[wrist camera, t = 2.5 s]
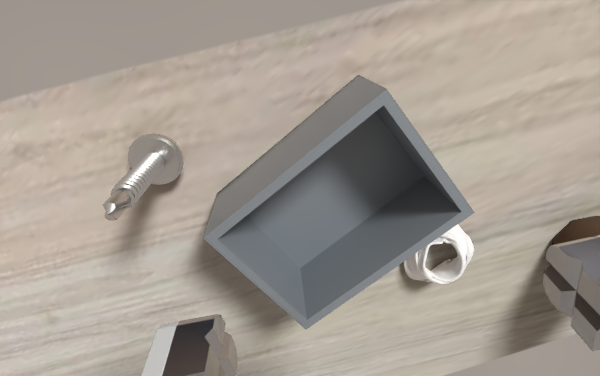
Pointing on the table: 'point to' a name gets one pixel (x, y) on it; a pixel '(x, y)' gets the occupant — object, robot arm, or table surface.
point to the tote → (335, 204)
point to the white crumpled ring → (447, 268)
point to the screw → (145, 171)
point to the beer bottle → (579, 230)
